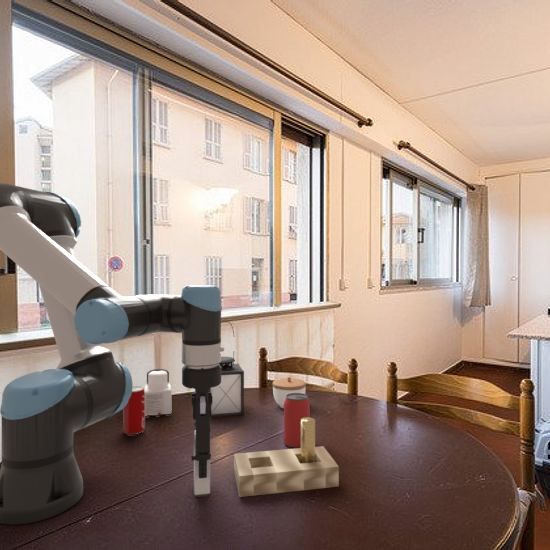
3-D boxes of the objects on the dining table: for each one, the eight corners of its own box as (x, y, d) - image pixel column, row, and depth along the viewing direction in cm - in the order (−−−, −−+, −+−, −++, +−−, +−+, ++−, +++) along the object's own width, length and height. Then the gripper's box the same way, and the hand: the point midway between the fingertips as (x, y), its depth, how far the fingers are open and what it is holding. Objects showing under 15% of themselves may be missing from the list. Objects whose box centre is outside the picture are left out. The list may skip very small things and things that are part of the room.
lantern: (238, 403, 136) (238, 318, 136) (244, 415, 125) (244, 322, 125) (204, 406, 133) (204, 319, 133) (207, 418, 122) (206, 323, 122)
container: (144, 409, 130) (144, 368, 130) (170, 407, 132) (170, 366, 132) (144, 418, 122) (144, 374, 122) (171, 415, 125) (171, 372, 125)
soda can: (145, 434, 110) (145, 389, 110) (123, 437, 108) (123, 391, 108) (144, 427, 115) (144, 383, 115) (123, 429, 113) (123, 385, 113)
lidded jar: (311, 404, 135) (311, 375, 135) (295, 414, 126) (295, 383, 126) (283, 399, 141) (283, 371, 141) (266, 407, 132) (266, 378, 132)
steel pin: (193, 497, 79) (193, 434, 79) (193, 489, 82) (193, 428, 82) (209, 496, 79) (209, 433, 79) (209, 488, 82) (209, 427, 82)
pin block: (239, 497, 79) (239, 476, 79) (233, 472, 89) (234, 453, 89) (338, 486, 83) (338, 466, 83) (323, 464, 93) (323, 446, 93)
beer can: (308, 450, 100) (308, 400, 100) (281, 447, 101) (281, 399, 101) (311, 439, 106) (311, 393, 106) (286, 437, 108) (286, 391, 108)
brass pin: (302, 481, 85) (302, 422, 85) (299, 474, 88) (299, 417, 88) (316, 479, 86) (316, 421, 86) (312, 472, 89) (312, 416, 89)
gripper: (226, 377, 70) (225, 508, 70) (217, 352, 92) (217, 452, 92) (180, 380, 69) (180, 513, 69) (183, 354, 91) (183, 455, 91)
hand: (201, 478), depth 80 cm, fingers open, 10 cm apart
